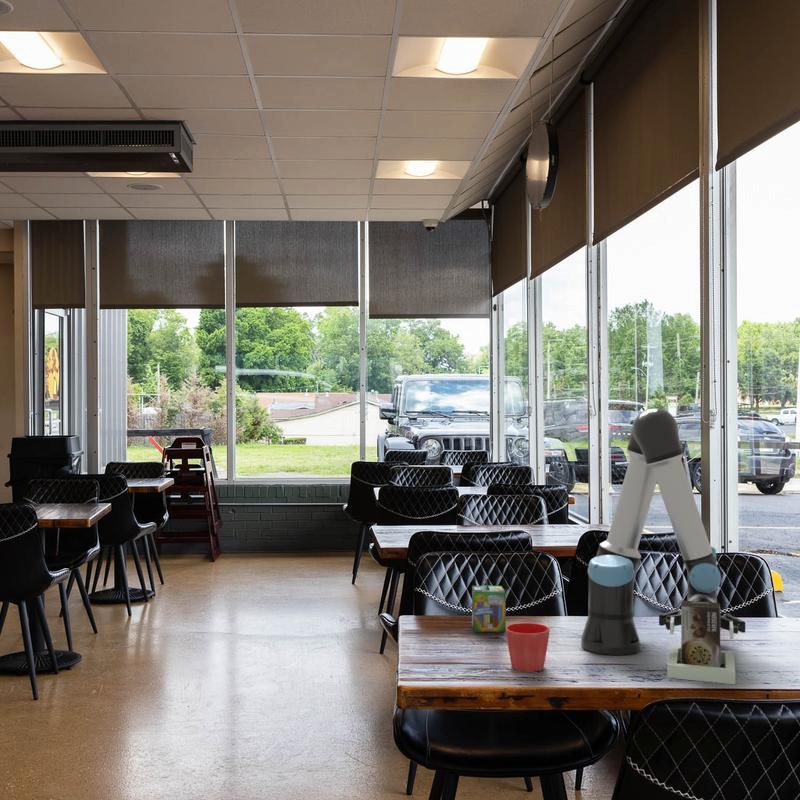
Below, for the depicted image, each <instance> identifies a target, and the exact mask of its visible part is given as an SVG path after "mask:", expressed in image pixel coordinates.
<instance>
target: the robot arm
mask: <svg viewBox="0 0 800 800" xmlns="http://www.w3.org/2000/svg"><path fill="white" fill-rule="evenodd" d="M679 436H680V435H679V427H678V424H677V420H676V418H675V417H674V416H673V415H672V413H670V412H669V411H667V410H664V409H663V408H658V407H653V408H648V409H644V410H643V411H642V412H639V414H638V415H637V416H636V418H635V419H634V422H633V424H632V430H631V434H630V438H629V441H628V444H627V448H626V452H627V453H628V456H629V461H628V465H627V468H626V471H625V476H624V479H623V482H622V486H621V488H620V489H621V490H620V493H619V496H618V500H617V504H616V507H615V510H614V514H613V518H612V521H611V525H610V528H609V531H608V535H607V538H606V540H604V541H602V542H600V543H599V545H598V550H597V552H596V556H594V557H593V558H591V559H590V561H589V562H588V567H587V575H588V599H587V600H588V603H587V604H588V605H587V606H588V609H587V611H588V612H587V614H588V616H587V620H586V623H585V626H584V628H583V631H582V635H581V642H580V643H581V644H580V645H581V647H582V649H584V650H586V651H589V652H591V653H596V654H601V655H602V654H603V655H612V656H613V655H615V656H625V655H632V654H637V653H638V652H640V651H641V640H640V637H639V634H638V630H637V627H636V624H635V621H634V600H635V599H634V596H635V595H634V591H635V590H634V587H635V586H634V585H635V579H636V575H637V572H638V570H639V569H638V568H639V566H640V562H641V558H642V555H641V553H640V551H639V550H638V549H639V545H640V540H641V539H642V535H643V531H644V527H645V524H646V521H647V517H648V515H649V510H650V507H651V504H652V500H653V497H654V492H655V489H656V487H657V485H658V488H659V492H660V494H661V497H662V500H663V503H664V505H665V510H666V512H667V516H668V517H669V521H670V524H671V527H672V530H673V533H674V536H675V539H676V541H677V545H678V547H679V550H680V554H681V556H682V560H683V564H684V566H685V568H686V571H687V573H686V574H687V575H686V576H687V592H686V593H687V600H686V601H699V602H714V603H718V598H717V594H718V593H717V592H718V591H717V590H718V588H719V587H720V585H721V581H722V575H721V572H720V569H719V568H718V565H717V558H718V557H717V550H716V548H715V547H714V546H711V545H710V541H709V538H708V534H707V533H706V530H705V526H704V524H703V521H702V518H701V515H700V512H699V509H698V508H699V507H698V506H697V503H696V500H695V497H694V494H693V490H692V488H691V485H690V482H689V479H688V476H687V473H686V470H685V468H684V464H683V461H682V458H683V456H684V452H683V448H682V444H681V441H680V437H679ZM658 625H659V626H665V629H666V630H668V631H669V634H670V635H674V633H675V632H674V631H675V627H677V626H681V609H680V610H679V609H678V608H674V609H673V610H671V611H667V612H665V613H662V614H661V613H660V614H659V615H658ZM720 629H724V630H726V631H728V632H729V639H730V640H734V634H737V635H738V634H739V632H740V633H742V634H744V633H746V622H745V621H744V620H742V619H739V618H738V617H736V616H733V615H732V614H731V613H729V612H725V613H724V614H723V615H720Z"/></svg>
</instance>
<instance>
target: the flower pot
mask: <svg viewBox="0 0 800 800" xmlns="http://www.w3.org/2000/svg"><path fill="white" fill-rule="evenodd" d="M550 631H551V629H550V627H548V626H547V625H544V624H542V623H533V622H517V623H511V624H508V625H506V632H505V635H506V636H505V637H506V641H507V647H508V652H509V659H510V663H511V664H510V665H511V668H512V669H514V670H515V671H520V672H528V673H529V672H530V673H535V672H537V671H542V670H543V669H544V668H545V667H544V666H545V661H546V655H547V651H548V645H549V637H550Z"/></svg>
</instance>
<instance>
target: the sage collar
mask: <svg viewBox="0 0 800 800" xmlns="http://www.w3.org/2000/svg"><path fill="white" fill-rule="evenodd" d="M669 647H670V648H669V652H668V653H669V654H668V660H667V672H666V673H667V677H666V678H670V679H677V680H678V679H680V680H688V681H695V682H696V681H697V682H698V681H699V682H706V683H716V682H717V684H726V685H736V665H735V655H734V651H732V650H722V649H720V654H721V665H722V664H725V665H724V667H721V668H719V667H709V666H698V665H688V664H681V663H679V661H681V645H680V646H678V645H670V646H669Z"/></svg>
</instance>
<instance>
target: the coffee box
mask: <svg viewBox="0 0 800 800" xmlns="http://www.w3.org/2000/svg"><path fill="white" fill-rule="evenodd" d="M680 612H681V625H680V626H681V627H680V629H681V631H680V632H681V634H680V635H681V638H680V639H681V640H680V641H681V643H680V647H681V660H680V662H681V663H680V664H688V665H698V666H709V667H719V668H722V667H721V665H722V664H721V654H720V650H721V628H720V616H721V605H720V602H717V603H714V602H699V601H687V600H682V601H681V604H680Z"/></svg>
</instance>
